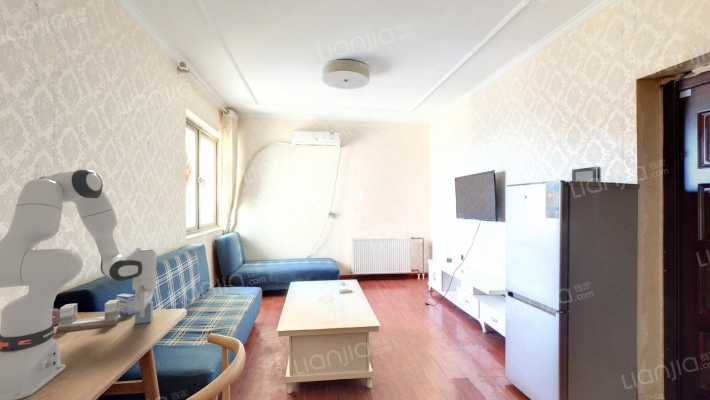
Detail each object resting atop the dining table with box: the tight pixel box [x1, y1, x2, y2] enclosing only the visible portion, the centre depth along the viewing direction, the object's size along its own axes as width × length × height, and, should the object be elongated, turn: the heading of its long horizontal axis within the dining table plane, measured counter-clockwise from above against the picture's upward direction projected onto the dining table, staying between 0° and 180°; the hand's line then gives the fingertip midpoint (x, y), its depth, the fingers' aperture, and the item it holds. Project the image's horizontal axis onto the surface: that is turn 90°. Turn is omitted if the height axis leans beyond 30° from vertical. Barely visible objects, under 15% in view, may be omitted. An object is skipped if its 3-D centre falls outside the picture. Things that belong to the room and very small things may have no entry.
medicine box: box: [115, 293, 135, 316], centre depth 151 cm, size 8×4×9 cm, turn 77°
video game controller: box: [52, 308, 60, 327], centre depth 137 cm, size 10×5×7 cm, turn 85°
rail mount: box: [55, 299, 122, 333], centre depth 136 cm, size 8×20×9 cm, turn 114°
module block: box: [134, 300, 154, 325], centre depth 141 cm, size 4×6×9 cm
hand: (144, 314), depth 141 cm, fingers closed on module block, 4 cm apart
